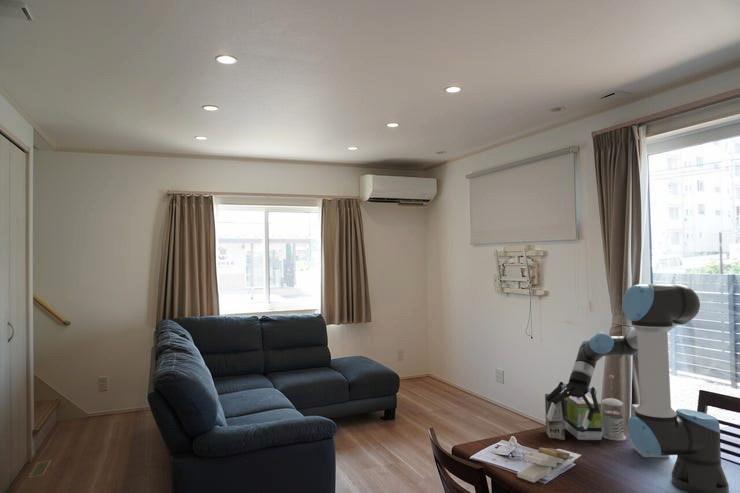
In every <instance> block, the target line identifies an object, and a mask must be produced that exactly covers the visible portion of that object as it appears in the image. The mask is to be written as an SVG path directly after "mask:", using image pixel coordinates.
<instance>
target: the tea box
mask: <svg viewBox="0 0 740 493" xmlns="http://www.w3.org/2000/svg"><path fill="white" fill-rule="evenodd" d="M585 396H586V398H587V399H588V401H589V403H590V404H591V406H592V408H595V407H594V403H593V400H592V396H589V395H587V394H585ZM597 402H598V405H599V409H600V413H594V415H593V418H592V421H589V423H588V427H587V429H584V427H583V425H582V424H583V421H584V418H585V414H586V411H587V410H589V411H590V409H589V408H588V406H587V404H586V403H585V401H584V399H583V397H580V398H577V397H572V396H570V397H566V398H565V399H564V411H565V430H567V431H568V432H569V433H570V434H571V435H573V437H575V438H576V439H577V440H580V441H601V440H602V438H603V437H602V431H603V430H602V428H603V427H602V403H600V402H599V401H597Z"/></svg>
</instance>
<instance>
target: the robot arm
mask: <svg viewBox="0 0 740 493" xmlns="http://www.w3.org/2000/svg"><path fill="white" fill-rule="evenodd" d="M621 305H622V307H621V308H622V312H623V313H624V314H623V315H624V316H625V318H626V319H627V320H629V321H630V323H631V326H632V327H633V329H632V330H631V331H629V332H628V333H626V334H625V335H615V336H613V335H609V334H608V333H605V332H598V333H596V334H595V335H593V336H592V337H591V338H590V339H589V340H583V341H582V342H581V344H580V346H579V348H578V352H577V355H576V358H575V361H574V364H573V368H572V370H571V374H570V376H569V380H568V382H567V383H564V382H563V381H559V384H558V385H557V387H556V388H554V389H553V390H552V391H551V392H550V393H548V394H549V395H548V396H547V397H546V400H547V402H548V403H549V405H548V408H547V409H548V411H549V412H548V414H547V418H548V420H549V421H551V419H552V417H553V414H554V411H555V408H556V406H555V404H557V403H558V402H560V401H562V400H563V399H565V398H566V397H570V396H572V397H577V398H580V397H583V399H584V401H585V403H586V404H587V406H588V408H589V409H590V411H589V410H587V411H586V414H585V418H584V421H583V424H582V425H583V427H584V429H587V427H588V423H589V421H592V418H593V415H594V413H600V409H599V405H598V402H599V401H598V399H597V390H596V388H595V387H594V386H592V387H591V388H590V385H591V382H592V378H593V376H594V372H595V369H596V365H597V362H598V361H599V360H601V359H602V358H603V357H611V356H612V357H614V356H615V357H618V356H619V357H621V356H626V357H627V356H632V357H633V356H636V357H637V364H638V365H637V367H638V368H637V370H638V388H639V390H638V392H639V404H638V405H639V406H637V407H636V408H635V416H633V417H632V416H631V417H630V418H628V420H627V432H628V436H629V438H630V441H631V443H632V445H633V444H634V446H635V447H636V449H637V450H638V451H639V452H641V453H642V454H644V455H650V456H663V455H669V456H676V460H675V463H674V466H673V468H672V470H671V471H672V472H671V482H672V483H673V484H674V486H675V487H677V488H679V489H681V490H683V491H685V492H687V493H729V492H730V487H729V486H730V485H729V482H728V479H727V476H726V474H725V472H724V470H723V466H722V455H721V453H722V452H721V434H722V433H721V428H720V422H719V420H718V419H717V418H716V417H715V416H713V415H710V414H708V413H705V412H701V411H697V410H694V409H687V408H677V409H676V410H674V409H672V404H671V403H672V402H671V382H670V380H671V379H670V378H671V377H670V360H669V359H670V358H669V356H670V355H669V337H668V332H670V331H671V330H673V329H674V328H675V327H678V325H679V326H682V325H686V324H688V323H689V322H690V321H692V320H693V319H695V317H696V316H697V315H698V314H699V311H700V310H701V309H700V307H701V301H700V298H699V296H698V294H697V292H695V291H694V290H693V289H692V288H690V287H689V286H687V285H684V284H680V283H644V284H642V283H640V284H634V285H631V286H630V287H628V289H627V290H626V291H625V293H624V295H623V298H622V304H621ZM588 393H589V394H590V395H591V396H590V397H591V398H592V400H593V403H594V407H595V408H592V406H591V404H590V403H589V401H588V399H587V398H586V396H585V394H586V395H587V394H588Z"/></svg>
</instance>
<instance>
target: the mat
mask: <svg viewBox="0 0 740 493" xmlns="http://www.w3.org/2000/svg"><path fill="white" fill-rule="evenodd" d="M556 450H559V451H563V452H566V453H570V456H569V458H562V459H564V460H563V464H562V463H557V466H556V467H551V472H550V473H548V474H547V475H546V476H547V477H552V476H553V475H555V474H556V473H557V472H559V471H560V470H562V469H563V468H565V467H566V466H568V465H569V464H571V463H572V462H574V461H576V460H577V459H578V458H580V457H581V456H582V454H579V453H575V452H572V451H568V450H564V449H561V448H557V449H556ZM559 458H561V457H559Z"/></svg>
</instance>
